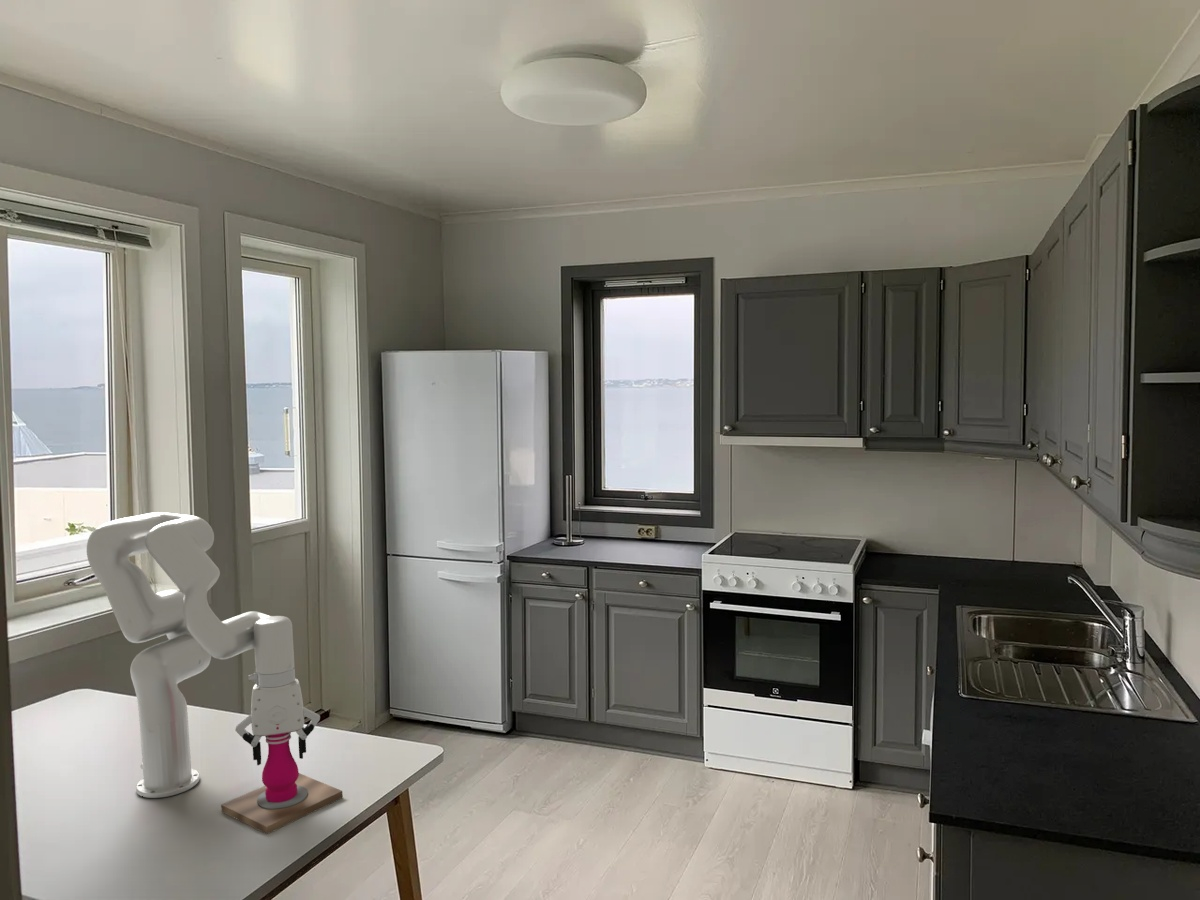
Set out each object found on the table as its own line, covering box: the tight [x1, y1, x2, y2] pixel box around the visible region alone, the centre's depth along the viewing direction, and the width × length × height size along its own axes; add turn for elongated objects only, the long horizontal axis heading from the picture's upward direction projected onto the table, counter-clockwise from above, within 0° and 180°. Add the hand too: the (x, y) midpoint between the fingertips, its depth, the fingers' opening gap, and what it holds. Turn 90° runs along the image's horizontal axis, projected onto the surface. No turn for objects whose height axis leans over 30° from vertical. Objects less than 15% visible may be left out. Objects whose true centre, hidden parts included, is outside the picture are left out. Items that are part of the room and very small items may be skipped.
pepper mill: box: [261, 724, 300, 803], centre depth 187 cm, size 7×7×20 cm
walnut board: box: [220, 772, 344, 835], centre depth 188 cm, size 16×18×2 cm
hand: (280, 758), depth 187 cm, fingers open, 7 cm apart
